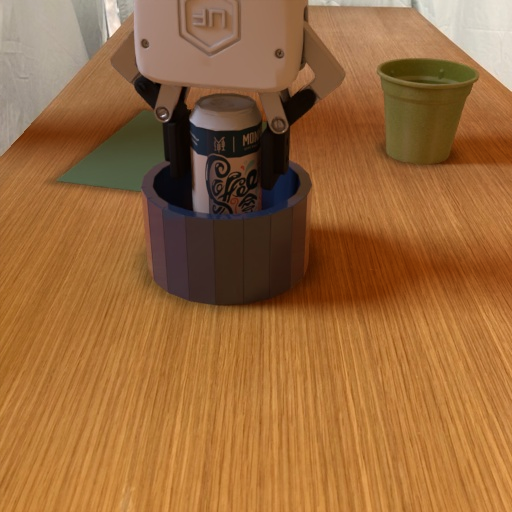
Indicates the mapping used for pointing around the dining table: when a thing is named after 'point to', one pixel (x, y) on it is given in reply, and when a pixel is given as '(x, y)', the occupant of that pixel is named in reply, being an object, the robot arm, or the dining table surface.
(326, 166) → the dining table surface
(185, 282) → the pot
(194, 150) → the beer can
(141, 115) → the mat
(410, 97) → the plant pot
